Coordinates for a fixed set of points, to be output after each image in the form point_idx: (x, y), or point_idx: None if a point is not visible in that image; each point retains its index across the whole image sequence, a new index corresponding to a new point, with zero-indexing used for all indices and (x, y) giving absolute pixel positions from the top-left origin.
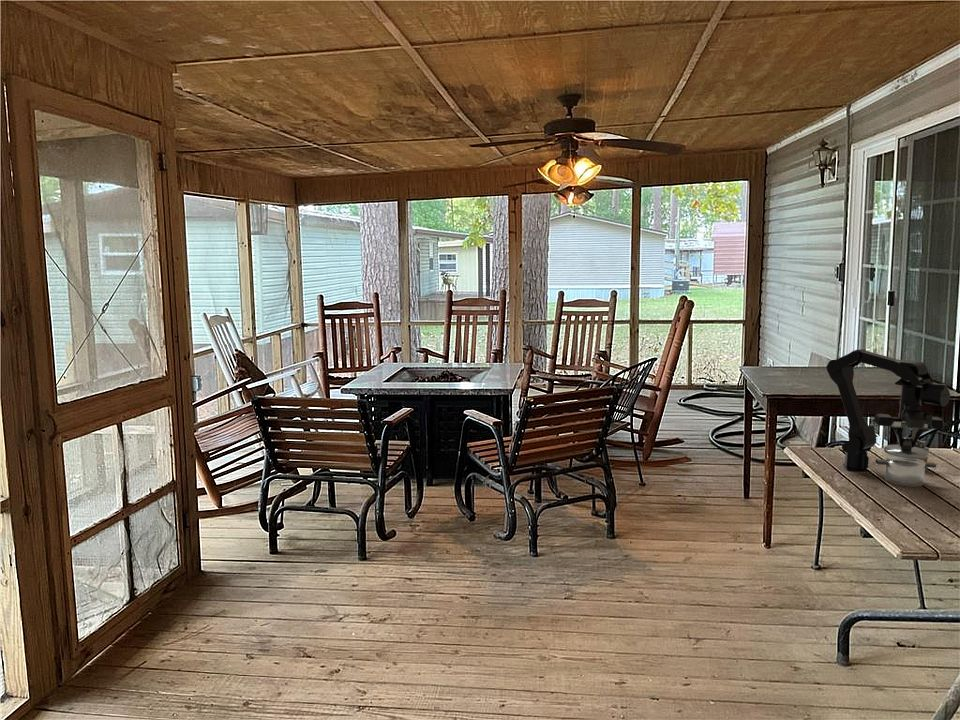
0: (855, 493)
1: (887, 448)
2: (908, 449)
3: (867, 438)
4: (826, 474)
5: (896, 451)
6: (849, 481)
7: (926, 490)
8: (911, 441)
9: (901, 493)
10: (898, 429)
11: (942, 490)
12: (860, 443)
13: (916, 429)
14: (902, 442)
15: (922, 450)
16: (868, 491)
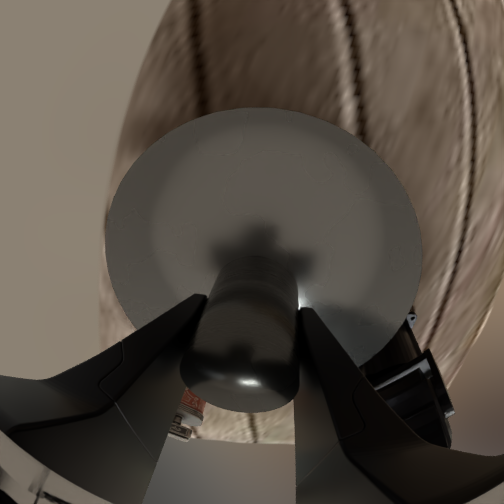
0: (489, 66)
1: (389, 314)
2: (250, 263)
3: (424, 413)
4: (489, 264)
5: (368, 238)
6: (471, 193)
7: (214, 97)
8: (204, 325)
9: (341, 44)
10: (463, 466)
11: (150, 115)
12: (442, 384)
13: (92, 461)
14: (298, 338)
15: (135, 290)
16: (453, 76)
